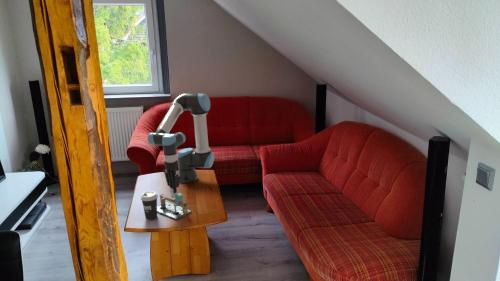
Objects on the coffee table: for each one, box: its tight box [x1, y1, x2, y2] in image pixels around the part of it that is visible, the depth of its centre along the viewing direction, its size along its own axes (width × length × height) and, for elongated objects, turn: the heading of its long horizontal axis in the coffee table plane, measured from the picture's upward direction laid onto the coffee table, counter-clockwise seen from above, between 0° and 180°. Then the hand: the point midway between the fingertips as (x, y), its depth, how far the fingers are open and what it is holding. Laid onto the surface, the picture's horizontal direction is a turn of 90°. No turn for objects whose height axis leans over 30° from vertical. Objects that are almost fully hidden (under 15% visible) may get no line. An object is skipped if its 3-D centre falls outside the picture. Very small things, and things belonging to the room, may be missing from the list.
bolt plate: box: [157, 201, 192, 221], centre depth 224 cm, size 12×22×1 cm, turn 52°
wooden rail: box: [159, 193, 189, 214], centre depth 223 cm, size 5×22×6 cm, turn 52°
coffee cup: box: [140, 190, 158, 221], centre depth 214 cm, size 10×10×15 cm
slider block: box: [173, 192, 184, 213], centre depth 219 cm, size 6×3×10 cm, turn 142°
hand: (174, 197), depth 222 cm, fingers closed
